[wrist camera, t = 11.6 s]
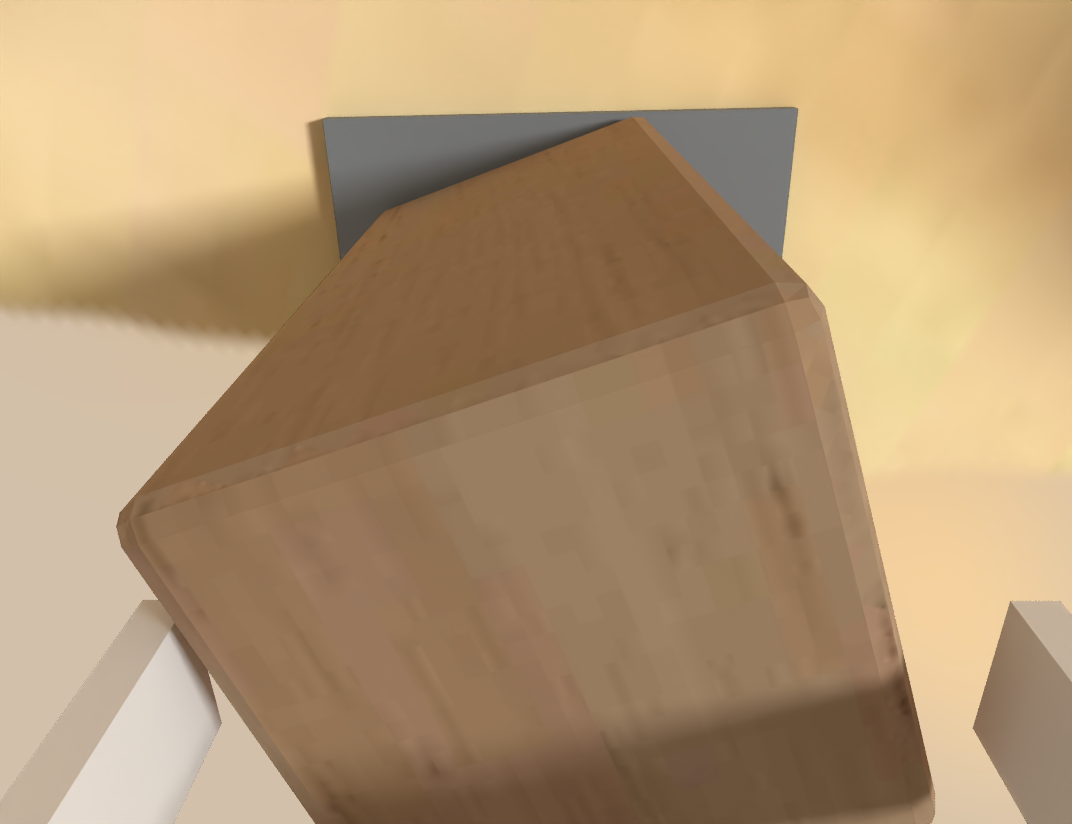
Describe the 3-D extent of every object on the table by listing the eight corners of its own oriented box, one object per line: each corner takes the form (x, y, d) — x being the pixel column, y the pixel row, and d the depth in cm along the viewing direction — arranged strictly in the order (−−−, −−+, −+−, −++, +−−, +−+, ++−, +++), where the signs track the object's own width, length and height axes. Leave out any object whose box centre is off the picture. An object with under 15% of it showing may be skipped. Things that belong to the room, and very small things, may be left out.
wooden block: (479, 446, 33) (395, 959, 15) (374, 212, 29) (86, 527, 11) (721, 369, 31) (951, 838, 13) (645, 109, 27) (828, 279, 9)
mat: (326, 117, 28) (322, 119, 28) (793, 107, 28) (798, 108, 27) (371, 470, 34) (368, 477, 34) (755, 465, 34) (758, 473, 33)
